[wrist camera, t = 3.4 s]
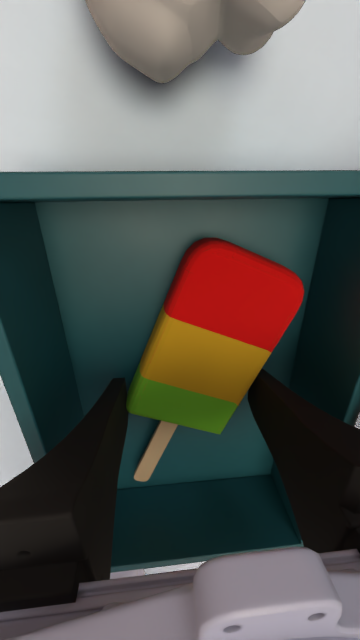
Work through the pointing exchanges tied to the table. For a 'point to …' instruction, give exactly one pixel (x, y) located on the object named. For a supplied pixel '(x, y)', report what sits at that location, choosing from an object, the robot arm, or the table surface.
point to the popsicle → (210, 340)
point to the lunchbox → (139, 320)
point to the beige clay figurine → (186, 29)
